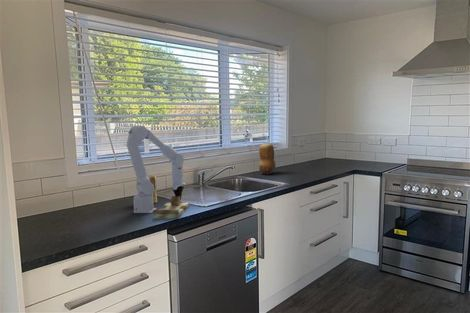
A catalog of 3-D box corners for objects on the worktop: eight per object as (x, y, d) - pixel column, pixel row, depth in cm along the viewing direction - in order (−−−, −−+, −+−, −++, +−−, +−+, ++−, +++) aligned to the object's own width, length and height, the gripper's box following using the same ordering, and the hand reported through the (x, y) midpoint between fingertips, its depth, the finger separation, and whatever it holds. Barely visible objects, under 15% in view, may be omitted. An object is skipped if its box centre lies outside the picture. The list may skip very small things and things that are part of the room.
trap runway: (153, 218, 167) (153, 210, 167) (167, 206, 189) (166, 199, 188) (178, 218, 166) (178, 210, 166) (188, 206, 188) (188, 199, 187)
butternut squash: (257, 173, 288) (257, 142, 285) (273, 172, 289) (273, 142, 286) (260, 175, 274) (260, 144, 271) (277, 175, 275) (277, 143, 272)
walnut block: (171, 205, 182) (170, 198, 182) (173, 203, 186) (172, 196, 186) (178, 205, 182) (178, 198, 182) (180, 203, 186) (180, 196, 185)
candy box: (157, 201, 201) (156, 175, 199) (156, 203, 196) (155, 176, 195) (141, 201, 200) (140, 175, 198) (140, 203, 196) (138, 177, 194)
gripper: (181, 177, 181) (182, 203, 182) (187, 173, 195) (188, 196, 197) (168, 177, 181) (169, 203, 183) (175, 173, 196) (176, 196, 197)
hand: (178, 199), depth 190 cm, fingers closed
